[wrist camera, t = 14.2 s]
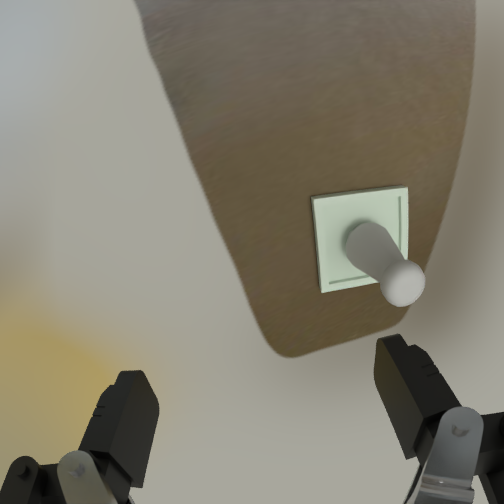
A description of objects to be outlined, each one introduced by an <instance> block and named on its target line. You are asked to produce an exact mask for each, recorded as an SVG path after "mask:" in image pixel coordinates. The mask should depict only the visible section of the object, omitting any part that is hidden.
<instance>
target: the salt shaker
mask: <svg viewBox="0 0 504 504" xmlns="http://www.w3.org/2000/svg"><path fill="white" fill-rule="evenodd" d="M346 254H347V258H348V259H349V261H350V262H351V263H352V265H353V266H354V267H356V268H358V269H359V270H361V271H362V272H364V273H365V274H367V275H368V276H370V277H371V278H373V279H375V280H376V281H378V282H379V283H381V292H382V293H383V295H384V296H385V298H386V299H387V301H388V302H390V303H391V304H393V305H395V306H397V307H402V306H407V305H409V304H411V303H413V302H414V301H416V299H417V298H418V297H419V296H420V295H421V294H422V291H423V289H424V287H425V276H424V274H423V272H422V270H421V268H420V267H419V266H418V265H417V264H416V263H414V262H412V261H410V260H405V259H404V257H403V255H402V253H401V252H400V250H399V249H398V247H397V245H396V244H395V242H394V240H393V239H392V237H391V236H390V234H389V232H388V231H387V229H386V228H384V227H383V226H381V225H379V224H377V223H362V224H360V225H358V226H357V227H356V228H355V229H353V230H352V231H351V232H349V236H348V239H347V243H346Z"/></svg>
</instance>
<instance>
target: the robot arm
mask: <svg viewBox="0 0 504 504" xmlns="http://www.w3.org/2000/svg"><path fill="white" fill-rule="evenodd" d="M374 380H375V384H376V387H377V390H378V392H379V394H380V397H381V399H382V401H383V404H384V406H385V408H386V411H387V413H388V416H389V418H390V420H391V423H392V425H393V427H394V430H395V433H396V435H397V438H398V440H399V442H400V445H401V448H402V450H403V453H404V455H405V458H406V460H407V459H410V458H413V457H416V456H417V458H418V461H419V463H420V464H419V466H418V468H417V471H416V474H415V476H414V478H413V481H412V483H411V486H410V488H409V490H408V493H407V495H406V497H405V499H404V502H403V504H472V503H473V499H474V489H472V488H471V484H472V480H473V476H475V475H478V476H479V478H480V481H481V483H482V486H483V489H484V491H485V494H486V497H487V500H488V502H489V504H504V412H500V413H494V414H487V415H480V414H479V413H478V412H477V411H475V410H474V409H471V408H469V407H462V405H461V404H460V403H459V401H458V400H457V398H456V396H455V395H454V393H453V392H452V390H451V388H450V387H449V385H448V384H447V382H446V381H445V379H444V377H443V376H442V374H441V373H439V370H438V368H437V367H436V365H434V362H433V361H432V359H431V358H430V356H429V355H428V353H427V352H426V351H424V350H423V349H421V348H420V347H418V346H417V345H411V346H408V345H407V344H406V342H405V341H404V339H403V338H402V336H401V335H400V334H395V335H391V336H386V337H382V338H379V339H378V340H377V343H376V355H375V364H374ZM96 406H97V408H95V410H94V412H93V417H91V419H90V422H89V424H88V426H87V429H86V432H85V434H84V436H83V439H82V441H81V444H80V446H79V449H78V451H72V452H69V453H67V454H66V455H65V456H63V457H62V458H61V460H60V461H59V463H57V464H49V465H39V464H38V463H37V462H36V461H35V460H34V459H33V458H32V457H29V456H22V457H19V458H17V459H16V460H15V461H14V462H13V463H12V464H11V466H10V468H9V470H8V473H7V475H6V478H5V480H4V483H3V486H2V488H1V491H0V504H135V503H134V501H133V499H132V498H131V496H130V495H129V491H130V487H136V488H142V487H143V482H144V478H145V473H146V468H147V464H148V460H149V454H150V450H151V446H152V442H153V438H154V434H155V429H156V425H157V421H158V417H159V403H158V400H157V397H156V395H155V394H154V392H153V390H152V388H151V386H150V384H149V382H148V380H147V378H146V376H145V374H144V372H143V371H141V370H136V371H135V370H134V371H121V372H120V373H119V375H118V377H117V379H116V382H115V384H114V385H110V386H109V387H108V388H107V389H106V390H105V391H104V392H103V393H102V394H101V396H100V398H99V401H98V403H97V405H96Z"/></svg>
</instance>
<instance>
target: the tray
mask: <svg viewBox="0 0 504 504" xmlns="http://www.w3.org/2000/svg"><path fill="white" fill-rule="evenodd" d="M311 203H312V212H313V221H314V231H315V241H316V252H317V264H318V276H319V288H320V290H321V292H322V293H324V292H329V291H335V290H340V289H345V288H351V287H356V286H361V285H366V284H371V283H376V282H378V281H376V280H375V279H373V278H371V277H370V276H368V275H367V274H365V273H364V272H362V271H361V270H359V269H358V268H356V267H354V266H353V265H352V263H351V262H350V261H349V259H348V258H347V254H346V243H347V239H348V236H349V232H351V231H352V230H353V229H355V228H356V227H357V226H358V225H360V224H362V223H377V224H379V225H381V226H383V227H384V228H386V229H387V231H388V232H389V234H390V236H391V237H392V239H393V240H394V242H395V244H396V245H397V247H398V249H399V250H400V252H401V253H402V255H403V257H404V259H405V260H407V256H408V187H405V186H403V185H399V186H390V187H381V188H373V189H365V190H357V191H349V192H341V193H333V194H326V195H319V196H312V197H311Z"/></svg>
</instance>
